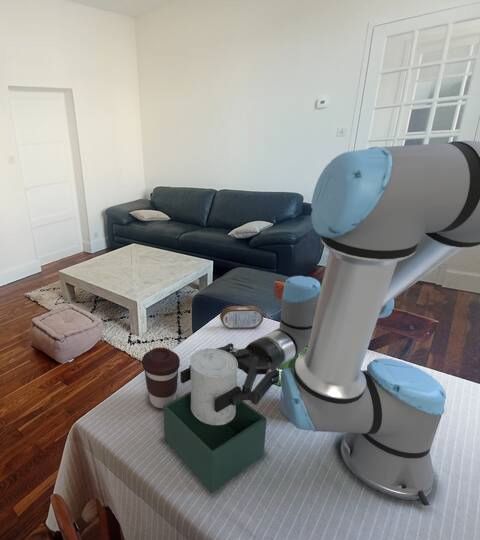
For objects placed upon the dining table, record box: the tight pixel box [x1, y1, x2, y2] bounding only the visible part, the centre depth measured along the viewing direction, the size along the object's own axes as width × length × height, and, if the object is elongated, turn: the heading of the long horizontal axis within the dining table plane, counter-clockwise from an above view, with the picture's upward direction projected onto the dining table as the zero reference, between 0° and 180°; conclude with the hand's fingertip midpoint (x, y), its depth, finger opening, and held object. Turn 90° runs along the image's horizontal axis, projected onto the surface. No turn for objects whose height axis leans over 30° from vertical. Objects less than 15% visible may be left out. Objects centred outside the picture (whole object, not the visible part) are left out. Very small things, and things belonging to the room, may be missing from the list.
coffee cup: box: [141, 346, 181, 409], centre depth 91 cm, size 10×10×15 cm
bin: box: [162, 390, 268, 494], centre depth 76 cm, size 16×16×11 cm
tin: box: [219, 305, 264, 329], centre depth 123 cm, size 15×3×8 cm, turn 84°
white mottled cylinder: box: [189, 348, 238, 425], centre depth 72 cm, size 10×10×12 cm
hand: (197, 391), depth 69 cm, fingers closed on white mottled cylinder, 9 cm apart
